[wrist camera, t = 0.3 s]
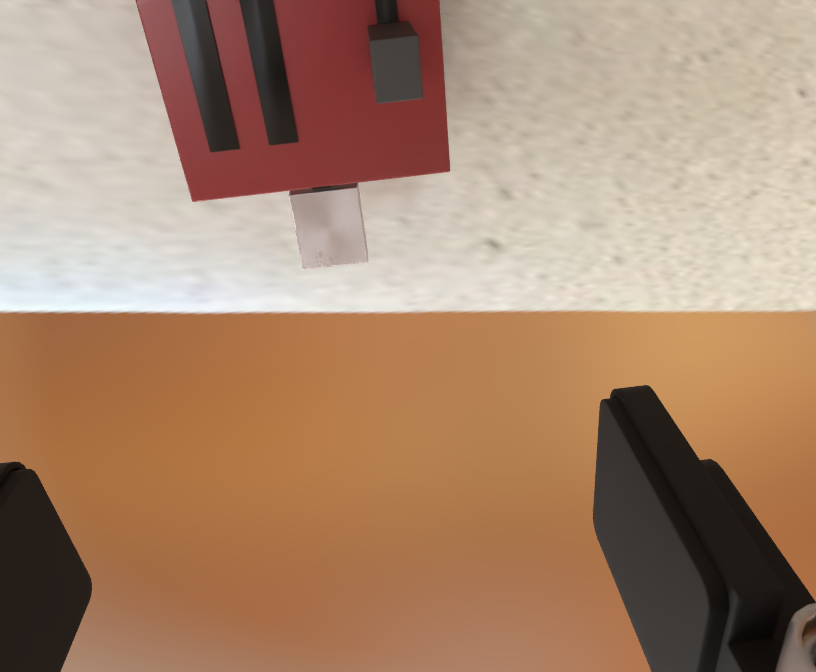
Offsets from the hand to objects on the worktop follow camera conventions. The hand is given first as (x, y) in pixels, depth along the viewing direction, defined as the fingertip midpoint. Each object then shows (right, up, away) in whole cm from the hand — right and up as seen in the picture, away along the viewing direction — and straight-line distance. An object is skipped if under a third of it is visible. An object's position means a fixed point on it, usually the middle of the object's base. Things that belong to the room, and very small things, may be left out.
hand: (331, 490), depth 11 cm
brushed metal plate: (-2, +8, +19) cm, 21 cm away
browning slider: (+1, +13, +14) cm, 19 cm away
